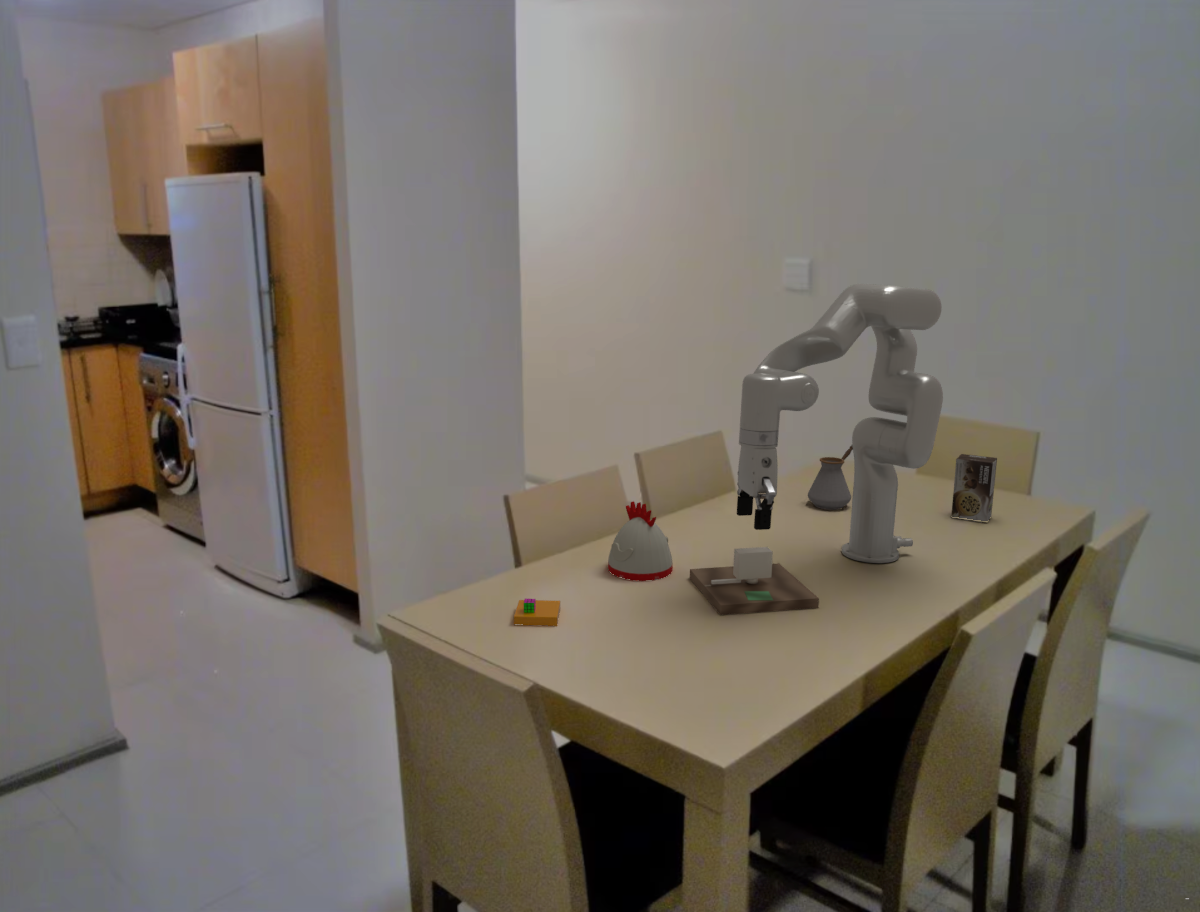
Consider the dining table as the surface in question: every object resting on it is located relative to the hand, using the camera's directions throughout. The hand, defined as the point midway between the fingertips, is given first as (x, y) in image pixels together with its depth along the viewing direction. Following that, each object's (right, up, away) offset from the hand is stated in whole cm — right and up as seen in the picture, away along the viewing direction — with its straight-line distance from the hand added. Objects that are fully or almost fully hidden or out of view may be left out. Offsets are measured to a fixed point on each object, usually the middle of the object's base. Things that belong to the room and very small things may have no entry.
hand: (753, 521), depth 182 cm
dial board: (0, -15, +4) cm, 15 cm away
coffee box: (+66, -3, +56) cm, 86 cm away
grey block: (-2, -12, +3) cm, 13 cm away
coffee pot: (+34, 0, +69) cm, 77 cm away
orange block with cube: (-42, -18, -9) cm, 47 cm away
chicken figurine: (-22, -12, +16) cm, 30 cm away
